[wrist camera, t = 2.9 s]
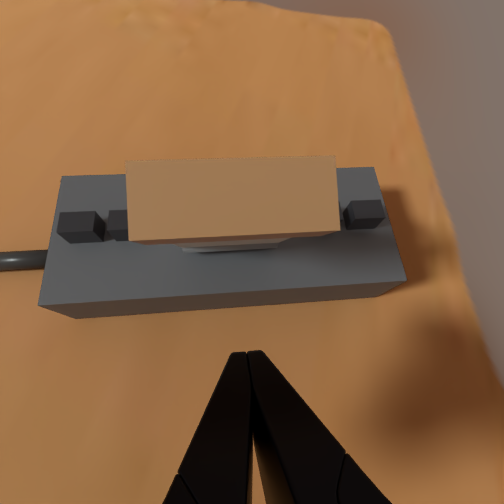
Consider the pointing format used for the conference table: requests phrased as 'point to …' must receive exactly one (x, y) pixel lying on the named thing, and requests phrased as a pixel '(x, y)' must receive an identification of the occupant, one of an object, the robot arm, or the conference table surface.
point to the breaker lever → (231, 201)
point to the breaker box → (205, 258)
